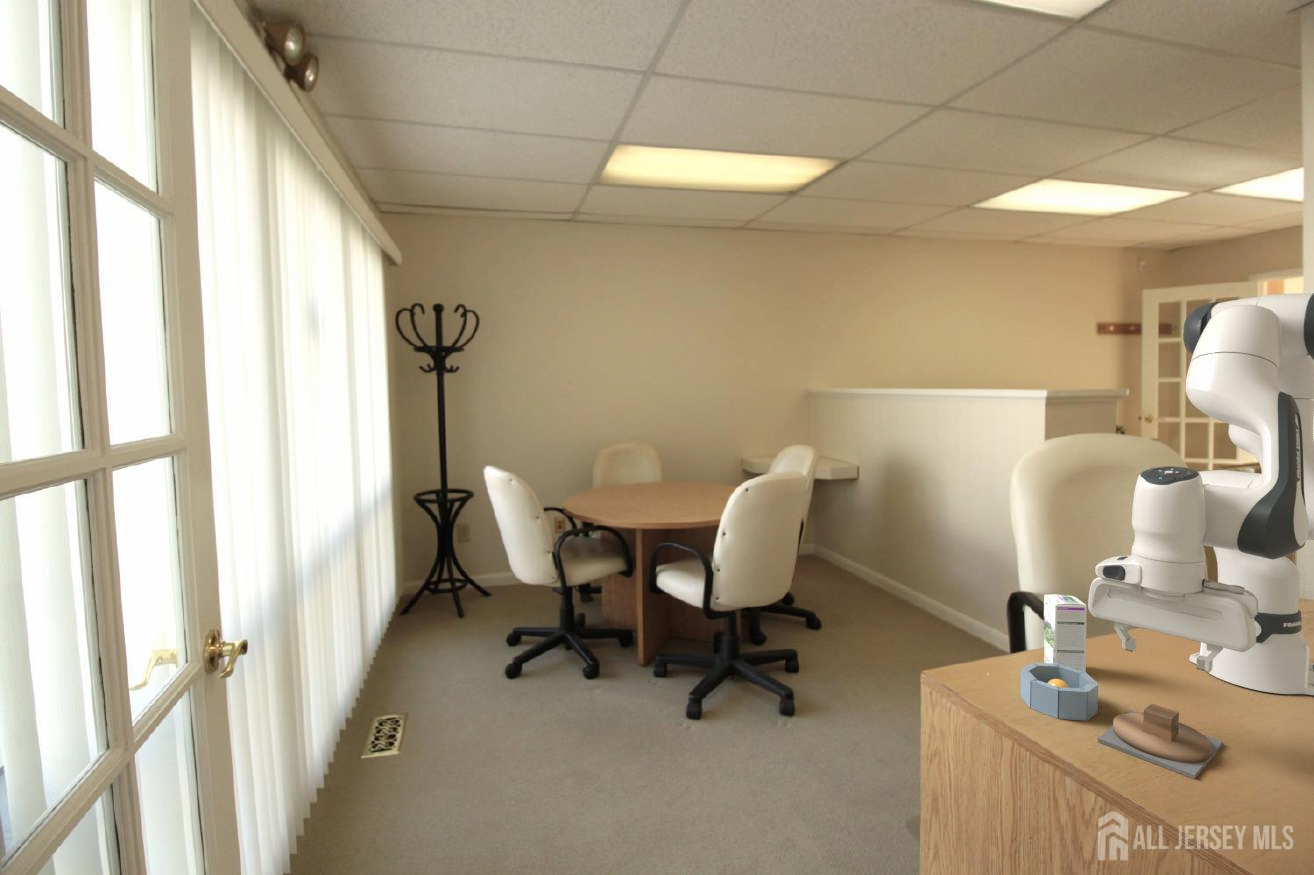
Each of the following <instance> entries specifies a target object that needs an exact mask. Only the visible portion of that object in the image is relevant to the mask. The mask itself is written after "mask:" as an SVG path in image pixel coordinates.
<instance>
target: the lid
mask: <svg viewBox="0 0 1314 875" xmlns="http://www.w3.org/2000/svg"><path fill="white" fill-rule="evenodd" d="M1179 720H1180V712H1179V711H1177V710H1174V709H1170V708H1167V707H1164V706H1162V705H1161V706H1160V705H1158V704H1154V703H1150V704H1149V705H1148V706H1147V707H1146V708H1144V710H1143V713H1142V712H1138V713H1128V712H1126V713H1121V714H1118V715H1116V716H1115V717H1114V718H1113V724H1112V726H1113V731H1114V733H1115V734H1116V736H1117V737H1118V738H1119V739H1120V740H1122V741H1123V742H1124V743H1126V744H1128V745H1129V746H1131V747H1133V748H1135V749H1137V750H1139V751H1141V752H1144V753H1146V754H1149V755H1152V756H1155V757H1158V758H1162V759H1166V760H1171V761H1177V762H1186V763H1196V762H1202V761H1205V760H1207V759H1209V758H1210V756H1211V743H1210V741H1209V740H1208V739H1207V738H1206V737H1205V736H1204V735H1205V734H1202V733H1201V732H1200V731H1198V730H1197V729H1195V728H1193V727H1191V726H1189V725H1186V724H1185V723H1182V722H1180V721H1179Z"/></svg>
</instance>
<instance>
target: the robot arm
mask: <svg viewBox="0 0 1314 875" xmlns="http://www.w3.org/2000/svg"><path fill="white" fill-rule="evenodd" d="M1182 338H1183V339H1182V340H1183V344H1184V347H1185V349H1186V351H1187V352H1189V353H1190V354H1192V355H1191V360H1190V363H1189V365H1188V368H1187V369H1188V370H1187V373H1186V377H1185V394H1186V396H1187V398H1188V400H1189V401H1190V403H1191V404H1192V405H1193V406H1194V407H1195V408H1196V409H1197V410H1199V411H1200V412H1202V413H1203V414H1205V415H1207V416H1208V417H1210V418H1213V419H1214V420H1217V421H1219V422H1223V423H1225V424H1228V437H1229V438H1230V441H1231V443H1233V444H1234V445H1235V446H1236V447H1237V448H1239V449H1241V450H1242V451H1245V452H1246V453H1249V454H1251V455H1253V456H1254V458H1256V460H1257V461H1258V463H1259V466H1260V469H1261V470H1260V471H1261V473H1259V472H1249V471H1237V470H1227V469H1219V470H1218V469H1216V470H1201V471H1197V470H1195V469H1193V468H1189V467H1183V466H1174V465H1173V466H1172V465H1171V466H1158V467H1151V468H1148V469H1146V470H1143V471H1142V472H1140V473H1139V474H1138V477H1137V479H1136V482H1135V488H1134V491H1133V500H1132V508H1131V526H1132V529H1133V533H1134V539H1133V540H1134V541H1133V543H1132V546H1131V550H1130V551H1131V554H1130V555H1120V556H1119V555H1117V556H1112V557H1109V558H1106V559H1104V560H1102V561H1100V562H1099V563H1098V564H1097V565H1096V566H1095V574H1096V576H1097V577H1096V578H1094V579H1093V580H1092V582H1091V583H1090V587H1089V592H1088V601H1087V608H1088V611H1089V612H1090V614H1091V615H1092V616H1093V617H1094V618H1098V619H1100V620H1101V619H1102V620H1106V621H1110V622H1113V629H1114V631H1116V633H1117V635H1118V636H1119V638H1120V640H1121V649H1122V650H1123V651H1128V652H1132V653H1134V652H1135V651H1137V647H1138V646H1137V644H1138V641H1137V638H1133V637H1131V634H1130V633H1129V632H1128V629H1127V628H1128V627H1129V626H1131V627H1135V628H1138V629H1139V628H1140V629H1143V630H1148V631H1151V632H1152V631H1153V632H1156V633H1160V634H1164V635H1169V636H1171V637H1172V636H1173V637H1177V638H1180V639H1185V640H1190V641H1194V642H1197V643H1200V651H1198V652H1196V653H1195V652H1194V653H1193V654H1190V655H1189V661H1190V662H1191V663H1192V664H1196V670H1199V671H1203V672H1206V673H1208V674H1210V675H1212V676H1214V677H1215V678H1217V679H1220V680H1222V681H1225V682H1227V683H1230V684H1233V685H1236V686H1240V687H1243V688H1246V689H1250V690H1255V691H1259V692H1266V693H1271V694H1272V693H1273V694H1279V695H1280V694H1281V695H1308V696H1314V661H1312V660H1311V661H1310V652H1311V651H1310V650H1311V649H1310V646H1308V645H1307V640H1306V639H1305V638H1304V635H1303V634H1302V632H1301V631H1302V627H1303V626H1302V624H1303V617H1302V612H1301V610H1300V609H1299V604H1300V602H1299V601H1300V586H1301V572H1300V570H1299V569H1298V567H1297V566H1296V564H1295V563H1294V562H1293V561H1292V560H1291V559H1289V558H1288V557H1287V556H1288V555H1289V556H1290V555H1291V554H1293V553H1296V552H1297V551H1299V550H1301V549H1303V548H1304V547H1305V545H1306V543H1307V540H1309V541H1314V292H1313V293H1306V292H1305V293H1304V292H1303V293H1302V292H1301V293H1274V294H1264V295H1261V296H1255V297H1254V296H1253V297H1246V298H1240V299H1235V300H1228V301H1223V302H1220V301H1213V302H1209V303H1205V304H1201V305H1199V306H1197V307H1195V308H1194V309H1193V310H1192V311H1190V313H1189V314H1188V315H1187V316H1186V318H1185V321H1184V324H1183V328H1182ZM1204 546H1205V547H1211V548H1213V551H1214V555H1215V558H1216V563H1217V564H1216V565H1217V581H1212V580H1209V579H1206V553H1205V551H1204V548H1203V547H1204Z"/></svg>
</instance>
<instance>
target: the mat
mask: <svg viewBox="0 0 1314 875" xmlns="http://www.w3.org/2000/svg"><path fill="white" fill-rule="evenodd" d="M1127 713H1139V712H1138V711H1135V710H1129V711H1128V712H1127ZM1203 735H1204V736H1205V737H1206V738H1207V739H1208V740H1209V741H1210V743H1211V756H1210V758H1209V759H1207V760H1205V761H1202V762H1196V763H1186V762H1177V761H1171V760H1166V759H1162V758H1158V757H1155V756H1152V755H1149V754H1146V753H1144V752H1141V751H1139V750H1137V749H1135V748H1133V747H1131V746H1129V745H1128V744H1126V743H1124V742H1123V741H1122V740H1120V739H1119V738H1118V737H1117V736H1116V734H1115V733H1114V731H1113V725H1112V726H1111V727H1109V728H1108V729H1107V730H1106V731H1104V732H1103V733H1102V734H1101V735H1100V736H1099V737H1098V738H1097V743H1100V744H1103V745H1105V746H1107V747H1111V748H1112V749H1115V750H1117V751H1120V752H1122V753H1126V754H1128V755H1131V756H1133V757H1135V758H1139V759H1141V760H1144V761H1147V762H1149V763H1151V764H1154V765H1156V764H1158V765H1157V766H1159V767H1161V768H1164V767H1165V768H1164V769H1167V770H1170V771H1172V772H1175V771H1176V773H1177V772H1179V773H1178V774H1180V773H1181V774H1180V775H1182V774H1183V776H1185V777H1188V778H1190V779H1193V780H1195V779H1196V778H1197V777H1198V776H1199V775H1200V773H1202V771H1203V769H1204V768H1205V767H1206V766H1207V763H1208V764H1209V762H1210V761H1211V760H1212V759H1213V758H1212V757H1215V755H1216V754H1217V753H1218V752H1219V750H1220V749H1221V748H1222V747H1223V746H1224V740H1221V739H1218V738H1215V737H1213V736H1212V737H1211V736H1209V735H1206V734H1203Z"/></svg>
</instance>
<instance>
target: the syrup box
mask: <svg viewBox="0 0 1314 875" xmlns="http://www.w3.org/2000/svg"><path fill="white" fill-rule="evenodd" d="M1043 600H1044V601H1043V602H1044V603H1043V662H1042V663H1051V664H1060V665H1064V666H1067V667H1070V668H1073V669H1076V670H1080V671H1083V672H1085V673H1087V672H1086V671H1087V608H1088V604H1086V603H1084V602H1083V601H1081V600H1080V599H1079V598H1077V597H1076V596H1075V595H1072V594H1060V593H1059V594H1056V593H1054V594H1044V598H1043Z"/></svg>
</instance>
